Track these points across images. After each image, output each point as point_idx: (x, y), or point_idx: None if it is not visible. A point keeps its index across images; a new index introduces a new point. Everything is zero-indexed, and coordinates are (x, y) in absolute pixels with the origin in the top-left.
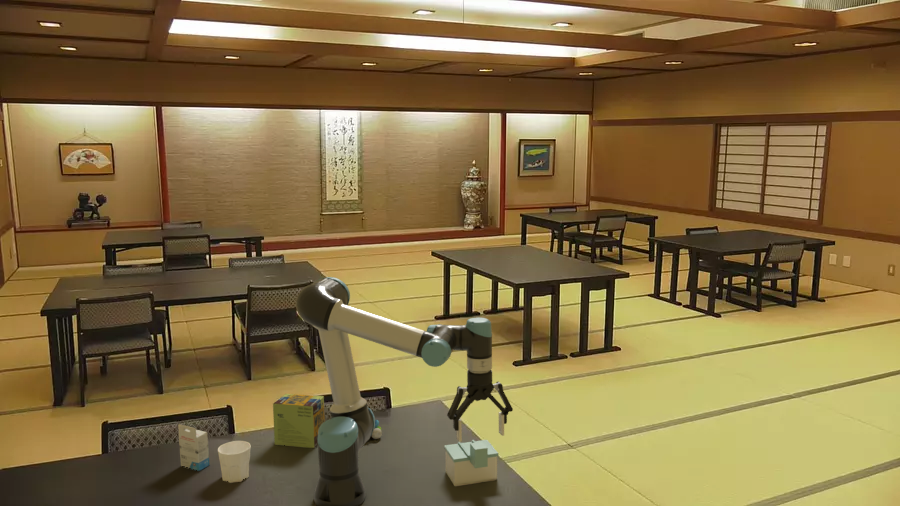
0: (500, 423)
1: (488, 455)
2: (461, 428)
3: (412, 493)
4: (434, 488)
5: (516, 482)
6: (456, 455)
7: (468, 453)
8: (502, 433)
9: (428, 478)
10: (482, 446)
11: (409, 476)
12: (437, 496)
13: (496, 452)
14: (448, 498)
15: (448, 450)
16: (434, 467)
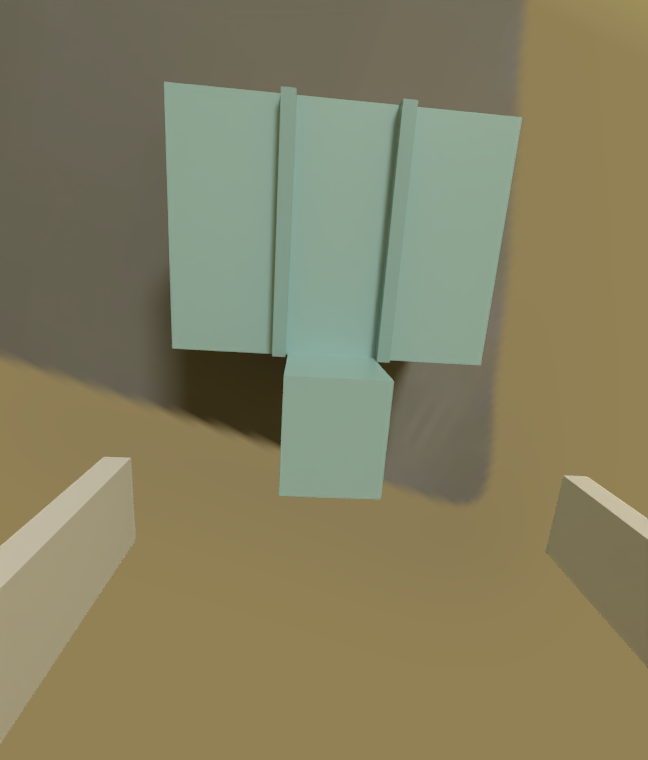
0: (645, 608)
1: (412, 359)
2: (48, 668)
3: (11, 315)
4: (123, 306)
5: (484, 382)
6: (206, 298)
7: (286, 326)
8: (564, 568)
9: (114, 195)
10: (355, 463)
11: (16, 130)
12: (120, 379)
13: (475, 350)
14: (163, 409)
15: (173, 193)
16: (174, 75)
